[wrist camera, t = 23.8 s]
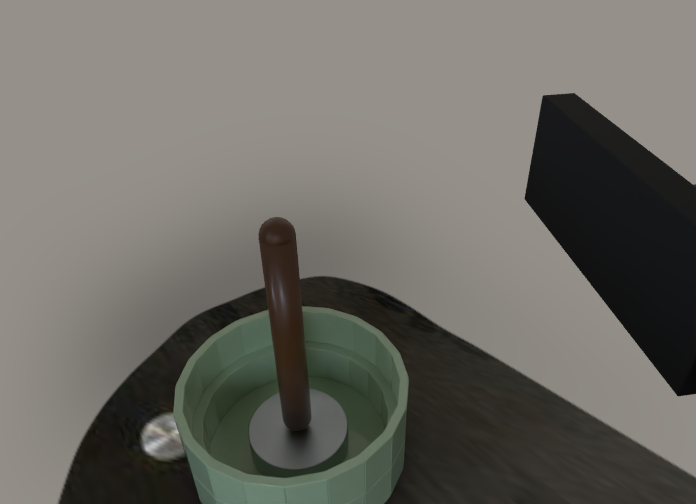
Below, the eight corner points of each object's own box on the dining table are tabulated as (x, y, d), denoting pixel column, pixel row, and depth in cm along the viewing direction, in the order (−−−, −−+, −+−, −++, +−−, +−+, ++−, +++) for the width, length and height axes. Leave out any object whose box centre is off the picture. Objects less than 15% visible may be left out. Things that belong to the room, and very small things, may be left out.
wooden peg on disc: (273, 504, 38) (234, 274, 27) (237, 427, 43) (192, 207, 32) (366, 459, 41) (364, 233, 30) (322, 392, 46) (307, 177, 35)
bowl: (234, 598, 34) (216, 533, 30) (169, 415, 45) (149, 350, 41) (447, 484, 40) (455, 417, 36) (343, 346, 51) (341, 283, 47)
